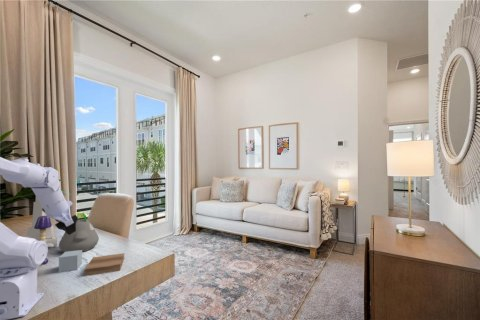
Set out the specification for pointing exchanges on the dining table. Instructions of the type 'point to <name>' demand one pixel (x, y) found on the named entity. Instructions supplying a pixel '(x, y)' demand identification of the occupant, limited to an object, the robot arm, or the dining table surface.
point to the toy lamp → (43, 229)
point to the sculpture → (35, 232)
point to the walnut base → (104, 264)
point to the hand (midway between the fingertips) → (66, 226)
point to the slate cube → (70, 261)
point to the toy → (79, 237)
